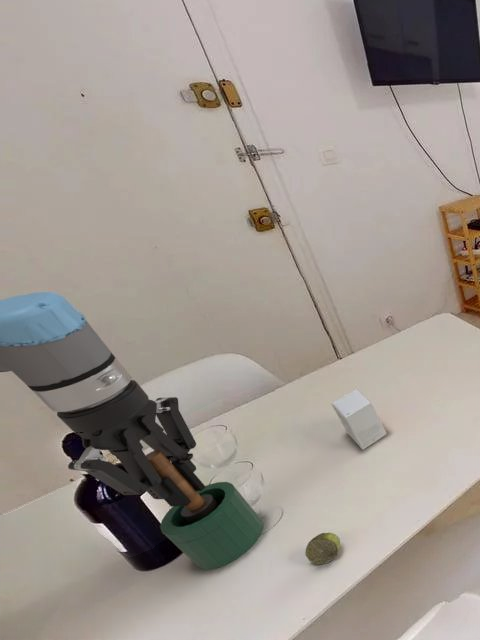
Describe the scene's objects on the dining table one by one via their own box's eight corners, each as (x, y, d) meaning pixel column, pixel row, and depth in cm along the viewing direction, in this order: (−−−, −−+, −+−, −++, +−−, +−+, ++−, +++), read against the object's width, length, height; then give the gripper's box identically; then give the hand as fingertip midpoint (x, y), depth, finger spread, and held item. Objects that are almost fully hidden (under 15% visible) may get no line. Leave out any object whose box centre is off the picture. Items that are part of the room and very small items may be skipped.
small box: (387, 434, 97) (372, 402, 92) (362, 451, 93) (345, 418, 88) (372, 419, 101) (357, 388, 96) (347, 434, 97) (330, 402, 92)
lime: (347, 552, 74) (336, 537, 71) (316, 575, 71) (303, 559, 68) (340, 536, 77) (329, 520, 74) (309, 556, 73) (297, 541, 71)
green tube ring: (181, 570, 72) (143, 535, 67) (227, 517, 80) (196, 482, 75) (235, 568, 72) (201, 533, 67) (275, 516, 80) (248, 480, 75)
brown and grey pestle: (190, 533, 71) (125, 467, 62) (210, 511, 75) (151, 445, 66) (213, 533, 71) (151, 466, 62) (232, 510, 75) (176, 444, 66)
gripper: (58, 437, 51) (167, 541, 63) (174, 359, 64) (247, 457, 76) (-3, 439, 51) (118, 543, 63) (126, 360, 64) (206, 458, 76)
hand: (188, 496), depth 69 cm, fingers closed on brown and grey pestle, 2 cm apart
